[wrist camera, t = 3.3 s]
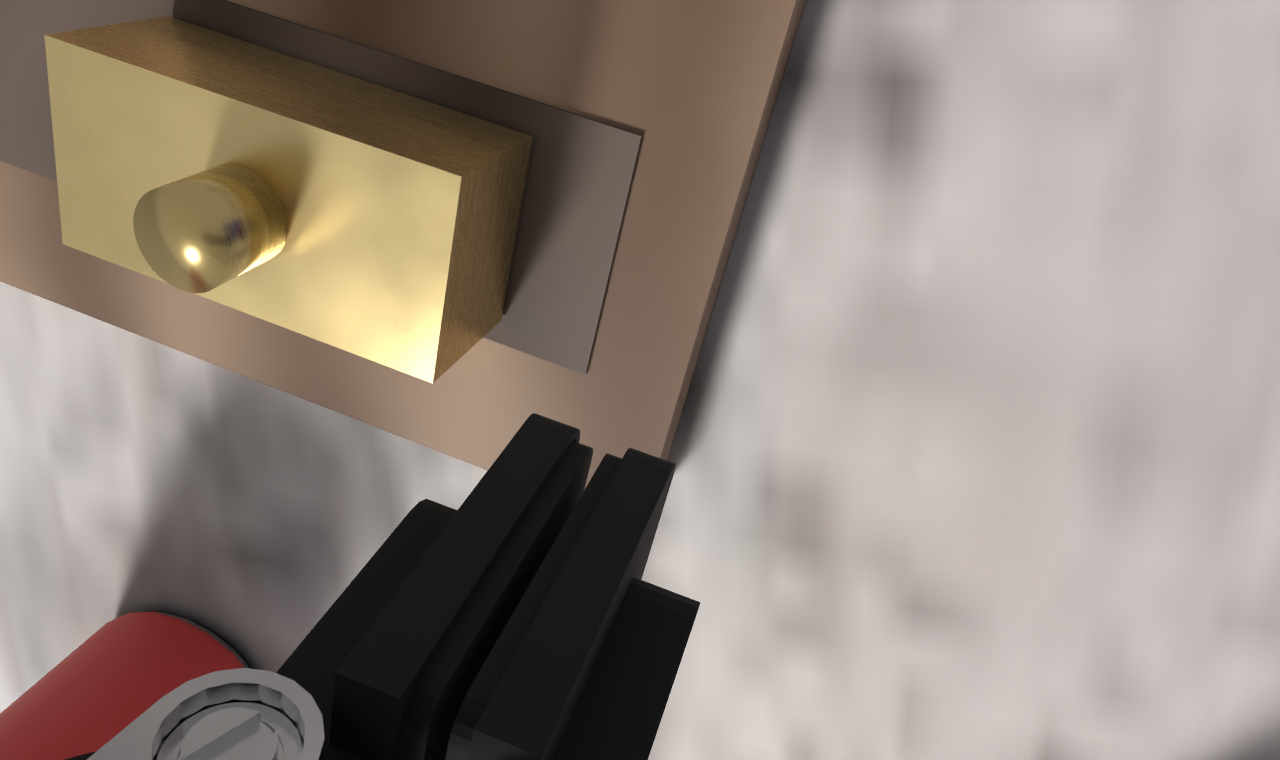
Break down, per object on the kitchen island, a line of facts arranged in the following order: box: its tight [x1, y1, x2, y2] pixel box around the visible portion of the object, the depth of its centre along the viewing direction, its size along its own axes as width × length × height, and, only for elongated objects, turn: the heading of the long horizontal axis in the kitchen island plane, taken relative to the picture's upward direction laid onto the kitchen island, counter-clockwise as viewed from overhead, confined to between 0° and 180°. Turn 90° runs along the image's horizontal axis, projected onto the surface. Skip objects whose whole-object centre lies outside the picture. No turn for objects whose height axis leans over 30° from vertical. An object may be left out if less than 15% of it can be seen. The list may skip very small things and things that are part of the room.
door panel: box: [0, 0, 806, 490], centre depth 21 cm, size 28×12×2 cm, turn 76°
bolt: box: [44, 16, 533, 384], centre depth 18 cm, size 8×4×5 cm, turn 76°
